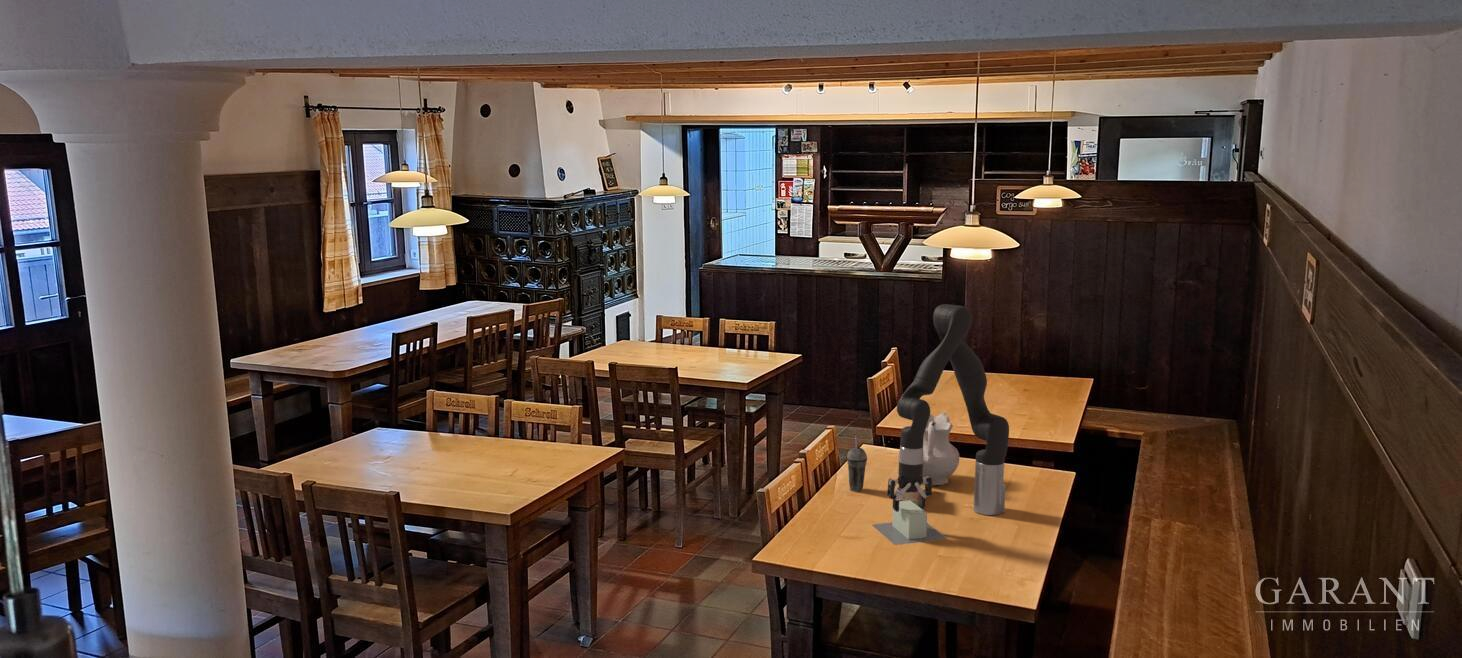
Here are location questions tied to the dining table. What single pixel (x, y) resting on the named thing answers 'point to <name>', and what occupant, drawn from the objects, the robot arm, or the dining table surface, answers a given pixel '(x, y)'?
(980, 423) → the robot arm
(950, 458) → the ceramic pitcher
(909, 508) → the sage block
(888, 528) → the gray tile
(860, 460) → the beverage cup
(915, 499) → the stack of blocks
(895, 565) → the dining table surface
